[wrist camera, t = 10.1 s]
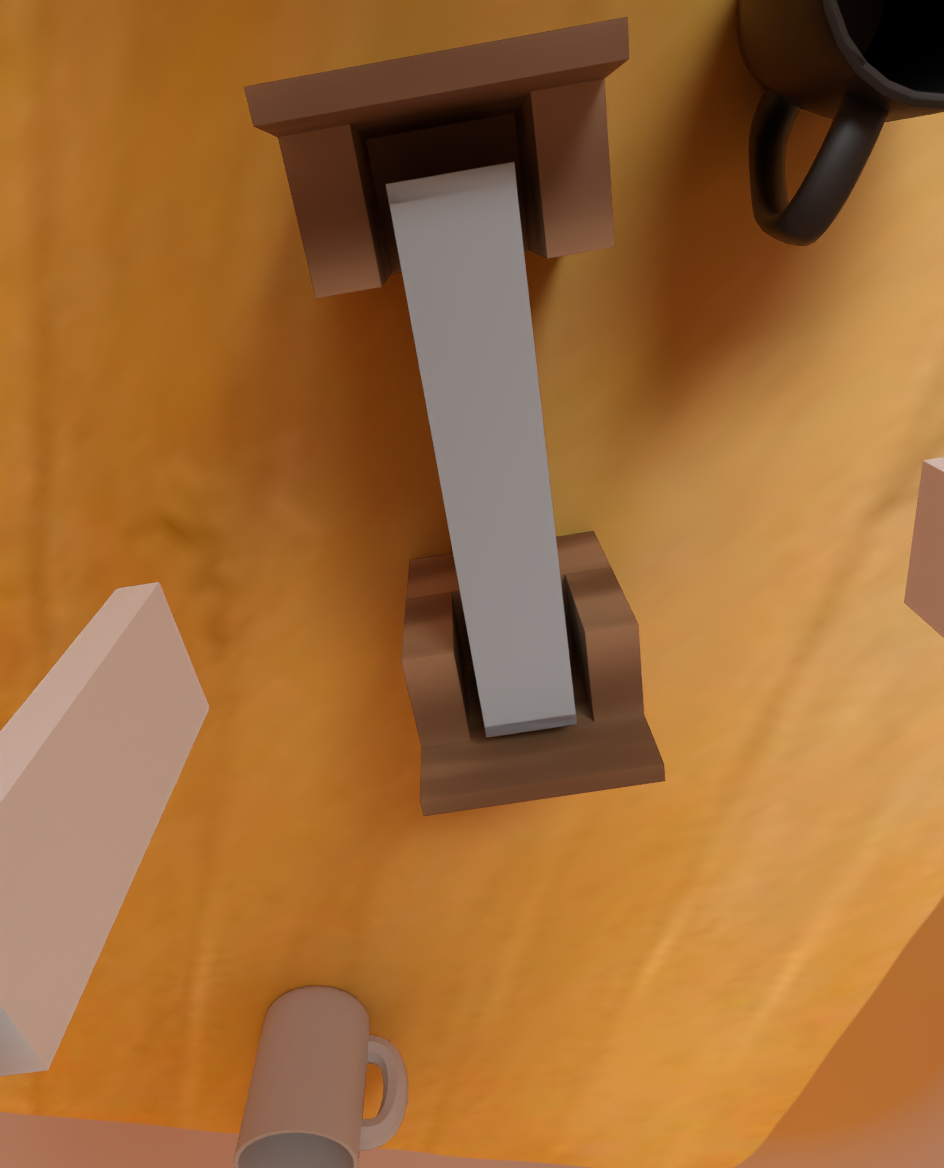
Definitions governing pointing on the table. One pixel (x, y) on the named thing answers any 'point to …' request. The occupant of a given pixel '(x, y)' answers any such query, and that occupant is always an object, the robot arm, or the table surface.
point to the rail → (488, 435)
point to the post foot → (541, 757)
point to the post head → (447, 143)
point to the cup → (318, 1085)
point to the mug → (833, 94)
